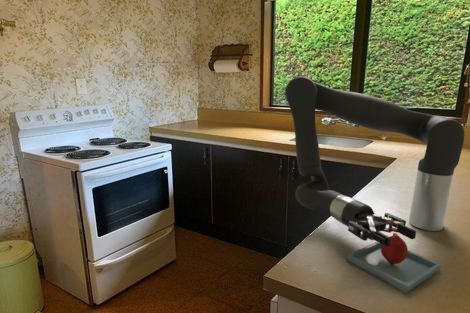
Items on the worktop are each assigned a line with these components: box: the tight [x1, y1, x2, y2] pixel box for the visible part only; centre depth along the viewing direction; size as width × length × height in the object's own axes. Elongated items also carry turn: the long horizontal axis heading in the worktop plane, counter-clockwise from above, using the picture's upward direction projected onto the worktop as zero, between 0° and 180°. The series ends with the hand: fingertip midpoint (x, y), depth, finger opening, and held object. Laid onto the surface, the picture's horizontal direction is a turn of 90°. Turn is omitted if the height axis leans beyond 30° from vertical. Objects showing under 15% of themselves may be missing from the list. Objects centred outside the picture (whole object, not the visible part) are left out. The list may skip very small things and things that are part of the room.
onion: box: [381, 232, 409, 265], centre depth 81 cm, size 6×6×8 cm
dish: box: [346, 241, 442, 295], centre depth 82 cm, size 15×15×2 cm
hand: (402, 239), depth 79 cm, fingers open, 8 cm apart
